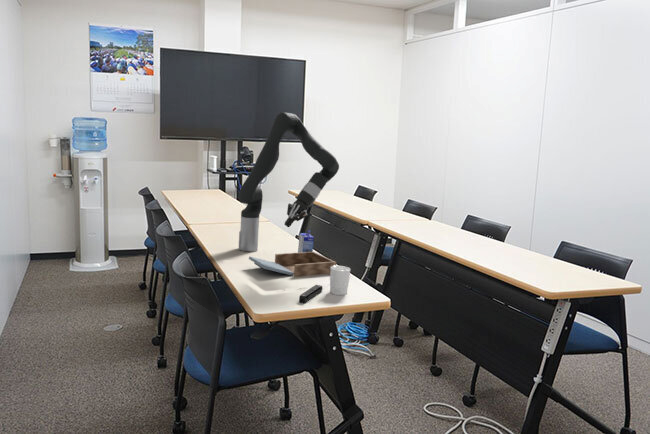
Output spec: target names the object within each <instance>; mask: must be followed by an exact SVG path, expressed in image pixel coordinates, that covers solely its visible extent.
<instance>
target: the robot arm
mask: <svg viewBox="0 0 650 434" xmlns="http://www.w3.org/2000/svg"><path fill="white" fill-rule="evenodd" d="M286 133H288V134H292V135H294V136H295V137H297V138H298V139H299V141H300V143H301V145H302V148H303V150H305V152H306V153H307V154H308V155H309V156H310V158H312V159H313V160H314V161H316V162H317V163H318V164H319V165H320V166H321V168H322V169H321V170H320V171H317V172H314V173H313V174H312V176H311V177H310V179H309V180H308V181H307V182H306V184H305V185H304V186H303V188H302V189H301V190H300V191H299V193H298V194H297V196H296V200H295V201H294V202H293V203H287V204H288V205H287V210H286V211H287V212H286V215H287V216H288V217H287V219H286V220H285V221H284V226H285V227H287V228H290V227H291V226H292V224H293V223H294V222H295V221H297V222H299V221H301V220H303V219H305V218H306V217H308V216H309V213H307V211H308V209H309V208H311V207H312V205H313V204H314V202H315V201H316V200H317V198H318V197H319V195H320V194H321V192H322V190H323V189H324V187H325V186H326V185H327V183H328V182H330V181H331V180H332V179H333V177H335V176H336V175H337V173H338V172H339V169H340V164H339V162H338V160H337V158H336V156H334V155H333V153H331V152H330V151H329V150H327V149H326V148H325V147H324V146H323V145H322V144H321V143H320V142H319V141H318V140H317V139H316V138H315V137H314V136H313V135H312V134H311V132H309V130H308V129H307V127H306V126H305V125H304V123H303V122H302V120H301V119H300V118H299V117H298V116H297V114H295V113H292V112H280V113H278V114H277V115H276V116H275V118H274V121H273V123H272V126H271V128H270V131H269V134H268V136H267V139H266V140H265V143H264V145H263V147H262V149H261V150H260V152H259V154H258V157H256V161H255V163H254V164H253V167H252V168H251V170H250V172H249V174H248V176H247V178H246V179H245V180H244V182H243V184H242V185H241V186H240V188H239V191H238V200H239V202H240V203H242V204H244V205H246V207H245V208H243V209H242V210H241V211H240V228H239V229H240V231H239V232H238V233H239V234H238V251H243V252H256V251H258V246H259V245H258V244H259V232H260V231H259V229H260V214H261V212H262V206H263V190H262V188H261V187H260V186H259V185H260V183H261V182H262V181H263V180H264V179H265V178H266V177H267V176H268V175H269V174H270V173H272V171H273V170H274V169H275V166H276V165H277V163H278V160H279V158H280V143H281V140H282V139H283V137H284V135H285V134H286Z"/></svg>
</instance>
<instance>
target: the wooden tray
mask: <svg viewBox="0 0 650 434" xmlns="http://www.w3.org/2000/svg"><path fill="white" fill-rule="evenodd" d="M274 263H277V264H279V265H281V266H283V267H285V268H286V269H288V270H290V271H292V272H293V273H294V275H292V276H293V277H294V278H297V277H307V276H308V277H309V276H320V275H328V274H329V275H330V267H332V266H337V261H334V260H333V259H330V258H328V257H326V256H324V255H322V254H319V253H318V252H315V251H313V252H300V253H298V252H288V253H285V252H284V253H275V254H274Z"/></svg>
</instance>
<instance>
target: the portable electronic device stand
mask: <svg viewBox="0 0 650 434" xmlns="http://www.w3.org/2000/svg"><path fill="white" fill-rule="evenodd" d="M321 293H323V285H320V284H314V285H313V286H311V287H310V288H309V289H307V290H306V291H304V292H303V293H301V294H300V295H299V297H298V303H299V304H303V305H304V304H306V303H308V302H309V301H311V300H312V299H314V298H315V297H317V295H319V294H321Z"/></svg>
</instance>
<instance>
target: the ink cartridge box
mask: <svg viewBox="0 0 650 434" xmlns="http://www.w3.org/2000/svg"><path fill="white" fill-rule="evenodd" d="M311 232H312V231H311V230H310V229H308V230H307V232H305V233H304V232H303V233H302V232H300V233H299V236H298V246H297V253H300V252H314V238H315V237H314V236H313V235H311Z"/></svg>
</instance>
